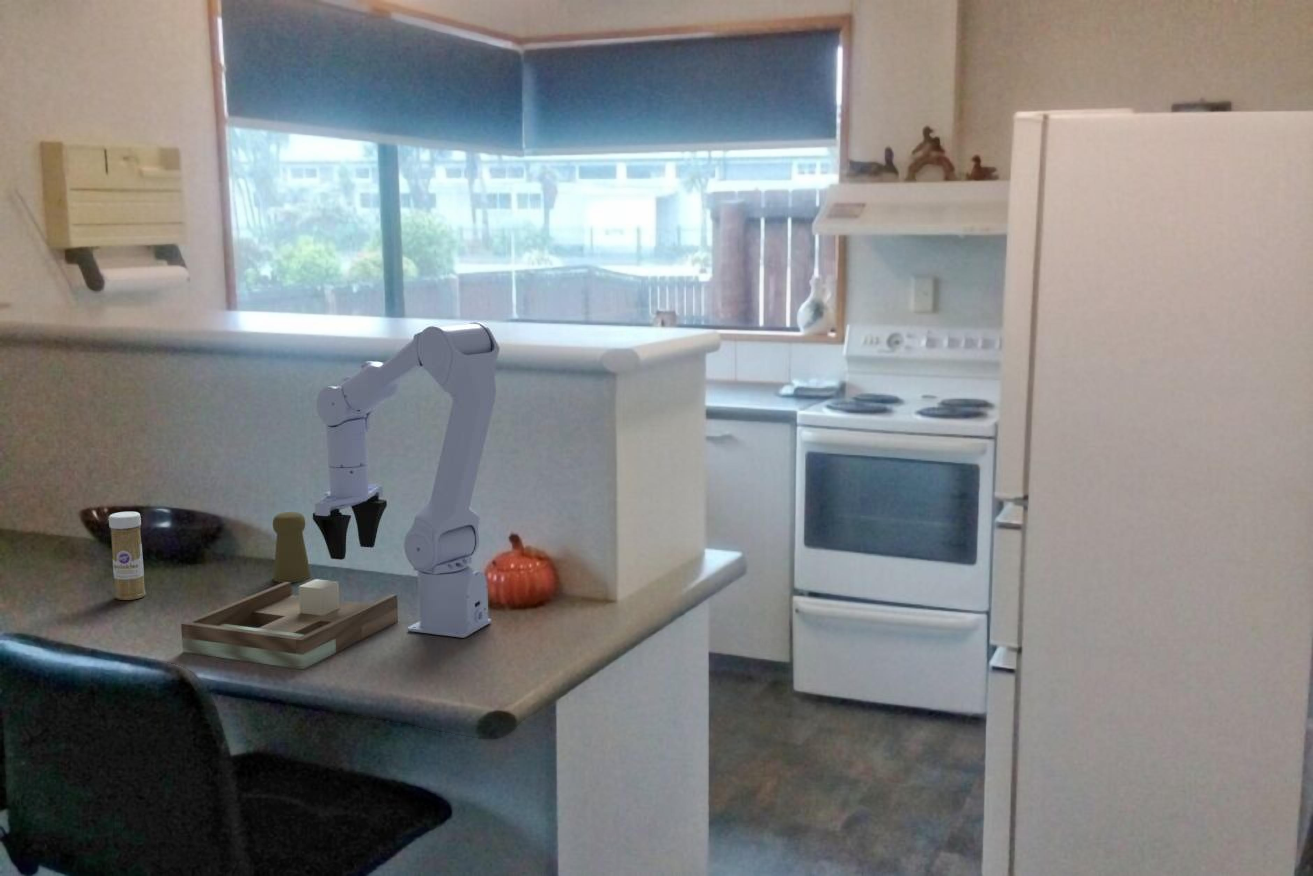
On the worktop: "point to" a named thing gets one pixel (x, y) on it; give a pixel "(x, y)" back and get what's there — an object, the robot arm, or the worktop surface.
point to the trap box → (283, 629)
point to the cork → (290, 548)
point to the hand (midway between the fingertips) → (352, 552)
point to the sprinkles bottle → (127, 555)
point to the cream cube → (319, 597)
